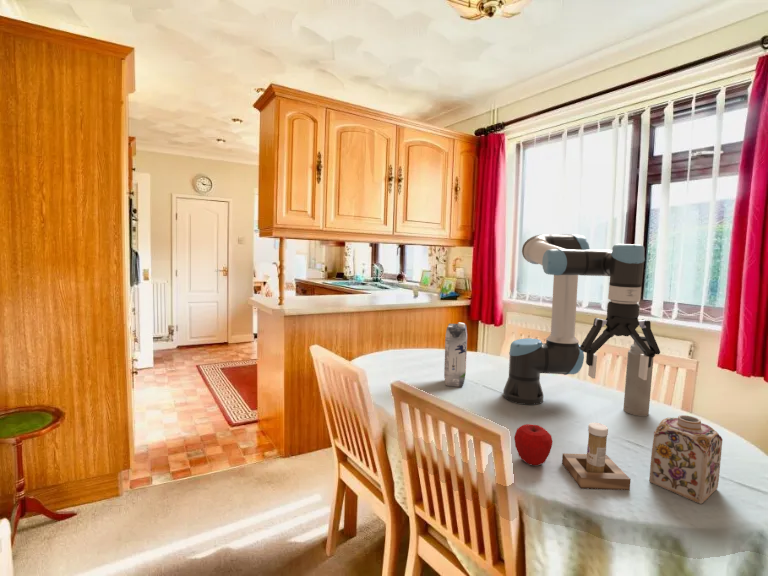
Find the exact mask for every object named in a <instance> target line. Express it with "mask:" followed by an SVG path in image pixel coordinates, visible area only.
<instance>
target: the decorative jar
mask: <svg viewBox="0 0 768 576" xmlns="http://www.w3.org/2000/svg"><path fill="white" fill-rule="evenodd" d="M722 447H723V438H722V436H721V435H720V434H719V433H718V432H717V431H716V430H715V429H714V428H713V427H711V426H710V425H708V424H706V423H702V421H701V419H699V418H697V417H694V416H691V415H678V417H667V418H664V419H662V420H660V422H659V423H658V426H656V429H655V431H653V440H652V448H651V456H650V466H649V467H650V469H649V480H648V481H649V483H651V484H653V485H654V486H658V487H659V488H662V489H664V490H666V491H667V490H668V491H670V492H671V493H674V494H675V495H676V494H677V495H679V496H680V497H683V498H684V499H685V498H686V499H688V500H691V501H692V502H695V503H697V504H700V505H702V504H703V503H705V502H706V501H707V500H708V499H709V498H710V497H711V496H712V495H713V493H715V491H717V490H718V488H719V480H720V471H721V460H722V450H723V449H722Z"/></svg>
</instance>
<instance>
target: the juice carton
mask: <svg viewBox="0 0 768 576" xmlns="http://www.w3.org/2000/svg"><path fill="white" fill-rule="evenodd" d="M467 329H468V328H467V324H466V323H465V322H460V321H459V322H457V323H448V325H447V326H446V330H445V339H444V369H443V371H444V376H443V377H444V382H445V386H447V387H457V388H463V387H464V383H465V380H466V374H467V373H466V372H467V350H468V349H467V348H468V330H467Z"/></svg>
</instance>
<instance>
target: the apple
mask: <svg viewBox="0 0 768 576" xmlns="http://www.w3.org/2000/svg"><path fill="white" fill-rule="evenodd" d="M513 437H514V445H515V446H514V447H515V449H516V451H517V455H518V457H519V458H520V459H521V460H522V461H523V462H525V463H526V464H527V465H530V466H534V467H535V466H539V465H543V464H545V462H546V461H547V458H548V457H549V455H550V453H551V449H552V446H553V437H552V434H550V433H549V431H547V429H545V428H544V427H542V426H540V425H538V424H537V425H536V424H530V423H529V424H528V423H527V424H523V425H521V426H519V427H518V428H516V432H515V434H514V436H513Z"/></svg>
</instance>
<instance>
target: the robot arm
mask: <svg viewBox="0 0 768 576" xmlns="http://www.w3.org/2000/svg"><path fill="white" fill-rule="evenodd" d="M645 251H646V250H645V246H644V245H642V244H636V243H635V244H631V243H617V244H616V243H615V244H614V245H613V246H612V249H610V248H609V249H591V248H590V244H589V242H588V240H587V238H586V237H585V236H584V235H581V234H574V233H573V234H572V233H571V234H567V233H566V234H563V233H562V234H554V233H553V234H548V233H544V234H543V233H542V234H537V235H536V234H535V235H533V236H532V237H529V238H528V239H526V241H525V242H524V243H523V244H522V248H521V255H522V257H523V259H525V261H527V263H530V264H531V265H541V266H542V269H543V272H544V273H545V274H546V275H550V276H551V275H552V276H553V280H552V281H553V284H552V302H551V303H552V304H551V319H550V320H551V321H550V334H549V336H547V337H546V338H545V339H546V341H545V343H543V342H542V340H540V339H538V338H532V337H531V338H519V339H516V340H513V341H512V342H511V343H510V346H509V347H510V348H509V363H508V378H507V380H506V382H505V385H504V387H503V393H502V394H503V395H502V396H503V398H504V399H506V400H507V401H509V402H512V403H516V404H521V405H527V406H528V405H533V406H534V405H539V404H542V403H543V402H544V392H543V388H542V385H541V381H540V380H541V378H540V377H541V374H551V375H552V374H553V375H554V374H555V375H564V376H566V375H576V374H578V373H580V371H581V370H582V367H583V365H584V359H585V357H586V359H585V360H586V361H585V363H586V365H587V366H588V375H587V376H589V377H590V379H596V373H597V362H598V361H597V360H598V355H597V354H595V353H597V352H598V350H600V349H601V348H602V346H604V345H605V343H607V341H609V339H610V338H613V337H614V336H616V337H622V336H623V337H629V336H630V338H632V340H633V342H634V341H635V342H636V344H637V345H638V346H639V347H640V349H641V350H642V351H643V352H644V354H640V365H639V375H638V377H640V378H641V379H643V380H647V372H648V367H651V361H652V357H653V358H654V357H656V355H660V354H661V350H660V348H659V346H658V342H657V340H656V338H655V335H654V334H653V333H654V332H653V331H652V329H651V328H652V327H651V321H650V320H649V319H645V318H642V319H639V317H640V309H641V308H640V307H641V305H640V304H639V302H640V301H641V297H642V296H641V295H642V294H641V293H642V283H643V275H644V264H645V261H646V259H645ZM579 276H585V277H587V276H593V277H594V276H595V277H609V283H608V295H607V299H608V300H609V301H607V307H606V318H605V319H603V318H598V317H594V318H593V323H592V324H593V325H592V326H591V328H590V330H589V332H588V333H587V335H586V337H585V338H584V340H583V342H582V343H581V344H579V343H580V342H579V340H578V339H577V338H576V335H575V334H576V317H577V303H578V302H577V301H578V299H577V298H578V286H579V285H578V284H579V283H578V281H579ZM604 326H606V328H604V330H603V331H602V333H601V334H600V332H601V330H602V328H603V327H604ZM638 327H639V328H641V331H642V334H643V335H644V336H643V337H645V338H646V341H647V343H648V345H649V347H648V346H647V345H646V344H645V342H644V341H643V340H642V339H641V337H640V334H639V332H638V331H637V329H638ZM599 334H600V335H599ZM598 335H599V336H598ZM649 348H650V349H649ZM584 353H586V356H585V354H584Z"/></svg>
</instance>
